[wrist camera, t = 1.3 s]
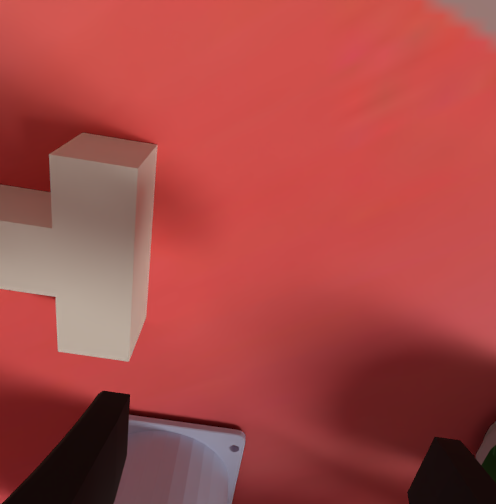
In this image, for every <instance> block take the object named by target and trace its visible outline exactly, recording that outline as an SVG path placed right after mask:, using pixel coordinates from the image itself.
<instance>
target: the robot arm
mask: <svg viewBox="0 0 496 504" xmlns="http://www.w3.org/2000/svg"><path fill="white" fill-rule="evenodd" d="M129 404H130V394H123V393H115V392H108V391H102V392H101V393H99V394H98V395H97V397H96V398H95V399H94V401H93V402H92V403H91V405H90V406H89V407H88V409H87V410H86V411H85V413H84V414H83V415H82V416H81V418H80V419H79V420H78V421H77V422H76V424H75V425H74V426H73V427H72V429H71V430H70V431H69V432H68V433H67V434H66V436H65V437H64V438H63V439H62V440H61V442H60V443H59V444H58V445H57V446H56V447H55V448H54V449H53V450H52V452H51V453H50V454H49V455H48V456H47V457H46V458H45V459H44V460H43V462H42V463H41V464H40V465H39V466H38V467H37V468H36V469H35V470H34V471H33V473H32V474H31V475H30V476H29V477H28V478H27V479H26V480H25V481H24V482H23V483H22V484H21V485H20V486H19V487H18V488H17V489H16V490H15V491H14V492H13V493H12V494H11V495H10V496H9V497H8V498H7V499H6V500H5V501H4V502H3V503H2V504H232V500H233V495H234V491H235V486H236V482H237V477H238V473H239V468H240V464H241V460H242V455H243V451H244V446H245V434H244V432H242V431H240V430H236V429H229V428H222V427H215V426H207V425H200V424H193V423H186V422H179V421H171V420H164V419H157V418H150V417H143V416H135V415H129ZM233 445H236V446H233ZM408 498H409V504H496V483H495V481H494V480H493V479H492V478H491V477H490V475H489V474H488V473H487V472H486V470H485V469H484V468H483V467H482V466H481V464H480V463H479V462H478V461H477V460H476V458H475V457H474V456H473V455H472V454H471V453H470V451H469V450H468V449H467V448H466V447H465V446H464V444H463V443H462V442H461V441H460V440H453V439H446V438H439V437H435V438H434V440H433V442H432V444H431V446H430V448H429V450H428V452H427V454H426V456H425V458H424V460H423V462H422V464H421V466H420V468H419V470H418V472H417V474H416V476H415V478H414V480H413V482H412V484H411V486H410V488H409V490H408Z"/></svg>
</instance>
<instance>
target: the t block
mask: <svg viewBox="0 0 496 504" xmlns="http://www.w3.org/2000/svg"><path fill="white" fill-rule="evenodd" d="M156 160H157V145H156V144H150V143H144V142H138V141H132V140H125V139H119V138H113V137H107V136H101V135H95V134H89V133H81V134H80V135H78V136H76V137H75V138H73V139H72V140H70V141H69V142H67V143H66V144H64V145H63V146H61V147H59V148H58V149H56V150H55V151H53V152H52V153H50V154H49V166H50V188H51V192H46V191H39V190H33V189H27V188H20V187H14V186H7V185H1V184H0V289H5V290H12V291H19V292H26V293H33V294H40V295H46V296H53V297H56V319H57V341H58V352H65V353H72V354H79V355H86V356H93V357H100V358H107V359H114V360H121V361H128V362H129V360H130V357H131V355H132V352H133V350H134V347H135V345H136V342H137V339H138V337H139V334H140V332H141V329H142V327H143V324H144V322H145V319H146V312H147V297H148V282H149V266H150V251H151V236H152V221H153V205H154V190H155V175H156Z"/></svg>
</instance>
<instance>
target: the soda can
mask: <svg viewBox="0 0 496 504" xmlns="http://www.w3.org/2000/svg"><path fill="white" fill-rule="evenodd" d="M476 460H477V461H478V462H479V463H480V464H481V466H482V467H483V468H484V469H485V470H486V472H487V473H488V474H489V475H490V477H491V478H492V479H493V480H494V481H495V483H496V421H495V422H494V423H493V424H492V425H491V426H490V428H489V430H488V431H487V433H486V435H485V437H484V439H483V443H482V444H481V446H480V448H479V450H478V451H477V453H476Z"/></svg>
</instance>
